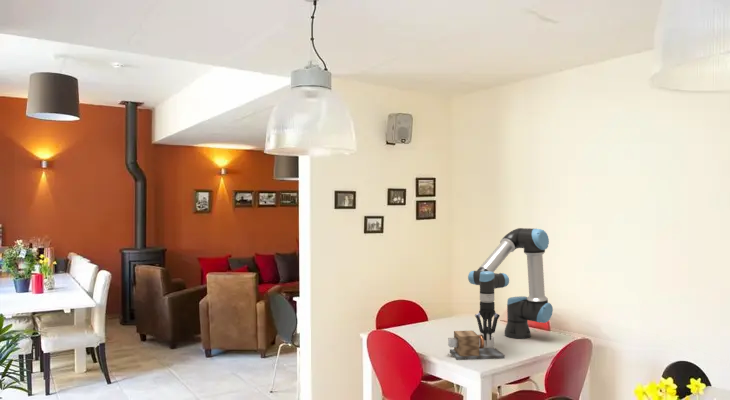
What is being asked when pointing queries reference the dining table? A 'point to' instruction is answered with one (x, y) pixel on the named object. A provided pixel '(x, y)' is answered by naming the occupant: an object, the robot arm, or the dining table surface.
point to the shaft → (454, 342)
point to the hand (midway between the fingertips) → (487, 346)
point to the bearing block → (472, 347)
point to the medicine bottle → (490, 340)
